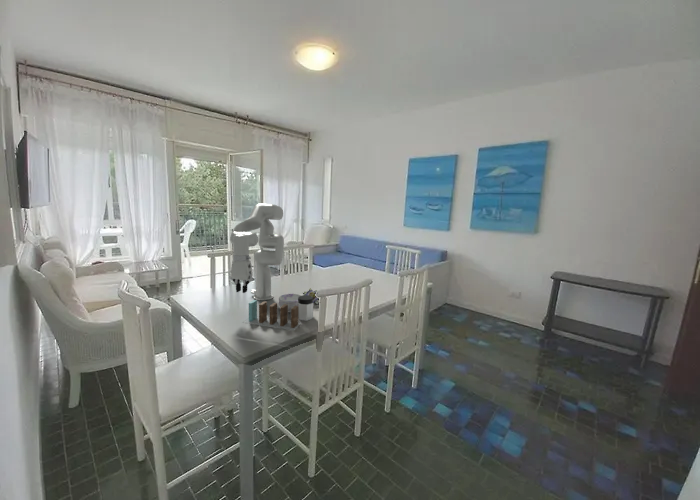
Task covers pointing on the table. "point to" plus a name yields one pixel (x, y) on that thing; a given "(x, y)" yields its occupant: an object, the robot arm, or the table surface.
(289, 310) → the paper bowls
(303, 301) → the jar
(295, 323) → the tile
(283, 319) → the tile
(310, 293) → the passion flower
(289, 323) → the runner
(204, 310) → the table surface
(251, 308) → the tile
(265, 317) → the tile
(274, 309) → the tile
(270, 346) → the table surface
